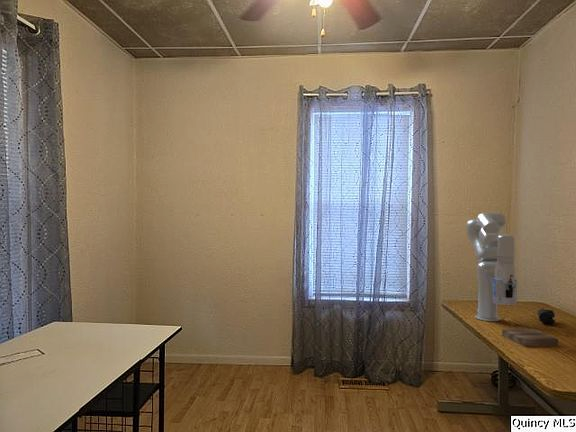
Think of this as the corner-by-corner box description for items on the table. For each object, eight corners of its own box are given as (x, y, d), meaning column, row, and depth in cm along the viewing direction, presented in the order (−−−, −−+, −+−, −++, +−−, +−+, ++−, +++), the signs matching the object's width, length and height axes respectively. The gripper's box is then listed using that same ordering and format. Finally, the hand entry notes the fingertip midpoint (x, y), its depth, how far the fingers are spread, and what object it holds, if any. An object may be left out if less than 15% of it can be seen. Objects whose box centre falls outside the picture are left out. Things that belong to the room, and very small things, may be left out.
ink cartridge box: (513, 302, 210) (514, 274, 209) (517, 305, 204) (517, 276, 204) (492, 301, 211) (492, 273, 211) (495, 304, 206) (496, 275, 206)
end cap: (537, 319, 231) (537, 307, 231) (552, 321, 228) (552, 309, 228) (538, 324, 222) (539, 311, 222) (554, 325, 219) (554, 313, 219)
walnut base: (502, 335, 201) (502, 329, 201) (533, 334, 202) (533, 328, 202) (524, 346, 185) (524, 339, 185) (558, 345, 186) (558, 338, 186)
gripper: (488, 257, 215) (487, 292, 216) (509, 262, 198) (508, 300, 199) (502, 257, 216) (501, 292, 217) (524, 262, 199) (523, 299, 199)
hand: (504, 295), depth 208 cm, fingers closed on ink cartridge box, 6 cm apart
